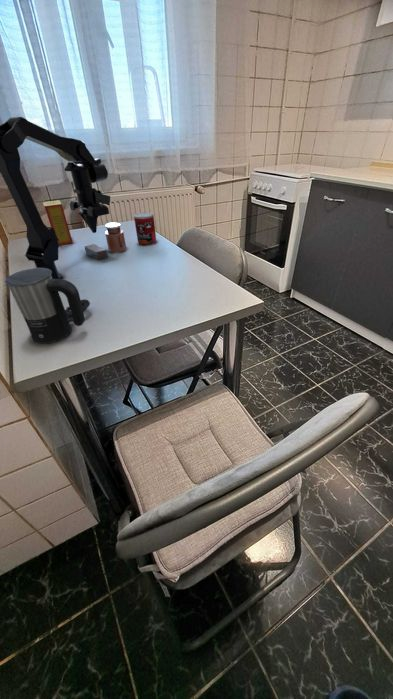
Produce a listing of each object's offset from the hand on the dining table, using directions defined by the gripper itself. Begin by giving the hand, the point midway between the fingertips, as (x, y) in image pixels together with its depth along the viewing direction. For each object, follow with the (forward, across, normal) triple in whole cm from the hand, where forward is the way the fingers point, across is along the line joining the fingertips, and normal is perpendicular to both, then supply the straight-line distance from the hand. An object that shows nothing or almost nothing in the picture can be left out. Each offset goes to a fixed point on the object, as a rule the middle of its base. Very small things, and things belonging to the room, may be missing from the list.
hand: (94, 232), depth 110 cm
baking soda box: (+9, +28, +3) cm, 29 cm away
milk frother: (+8, -40, +32) cm, 52 cm away
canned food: (+9, -2, -21) cm, 23 cm away
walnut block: (+8, 0, +1) cm, 9 cm away
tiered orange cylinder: (+7, -1, -4) cm, 8 cm away
